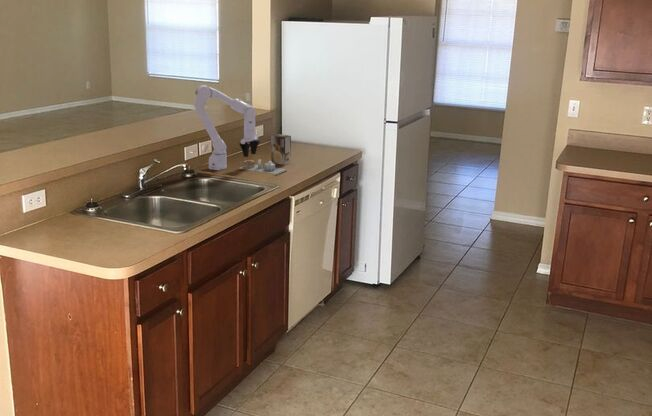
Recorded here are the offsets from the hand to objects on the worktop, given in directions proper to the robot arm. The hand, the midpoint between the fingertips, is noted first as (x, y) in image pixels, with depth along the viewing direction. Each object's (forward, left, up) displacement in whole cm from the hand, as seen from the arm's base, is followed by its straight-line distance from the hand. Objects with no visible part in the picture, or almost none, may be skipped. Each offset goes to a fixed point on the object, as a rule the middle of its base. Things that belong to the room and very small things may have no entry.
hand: (249, 155), depth 351 cm
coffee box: (+18, -9, -8) cm, 21 cm away
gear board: (0, -8, -7) cm, 11 cm away
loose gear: (0, 0, -6) cm, 6 cm away
